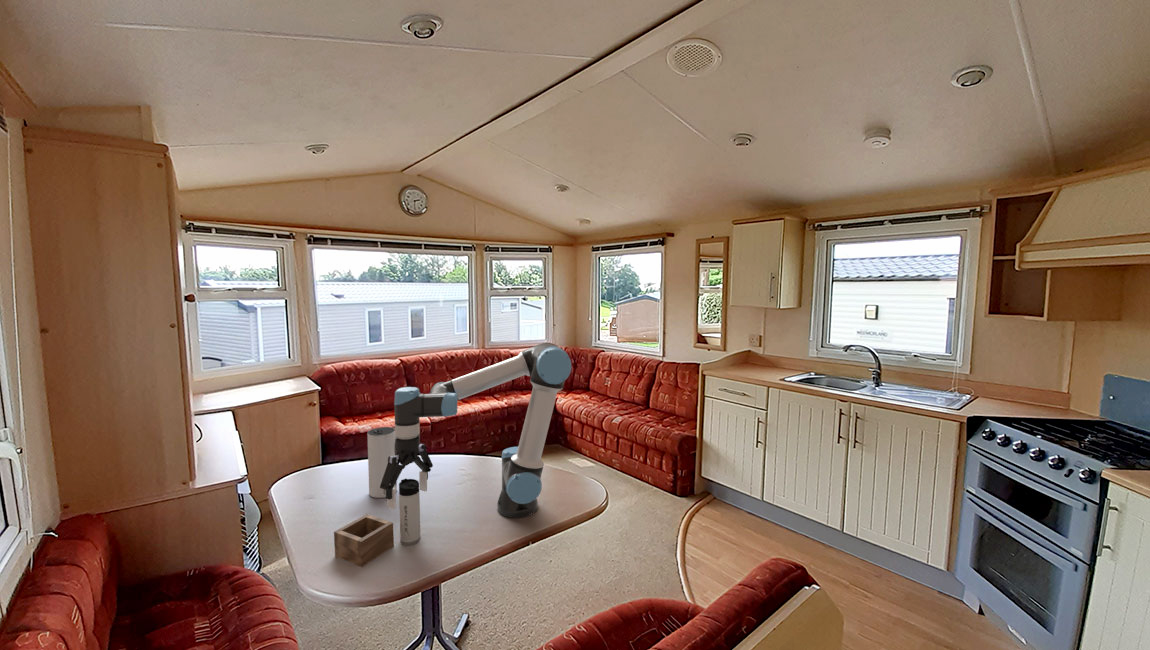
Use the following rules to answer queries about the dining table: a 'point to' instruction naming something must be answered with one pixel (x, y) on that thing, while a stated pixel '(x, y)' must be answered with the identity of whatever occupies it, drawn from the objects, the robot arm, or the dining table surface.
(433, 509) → the dining table surface
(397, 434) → the robot arm
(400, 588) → the dining table surface
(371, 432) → the speaker
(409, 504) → the travel mug
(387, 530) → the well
